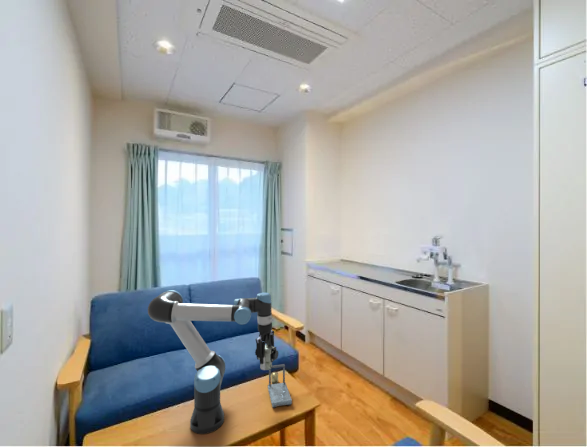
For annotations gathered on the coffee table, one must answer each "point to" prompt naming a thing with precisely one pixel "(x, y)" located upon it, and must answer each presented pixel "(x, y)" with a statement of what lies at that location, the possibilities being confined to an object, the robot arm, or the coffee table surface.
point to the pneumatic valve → (269, 356)
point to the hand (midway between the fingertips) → (266, 366)
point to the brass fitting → (274, 377)
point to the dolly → (279, 390)
